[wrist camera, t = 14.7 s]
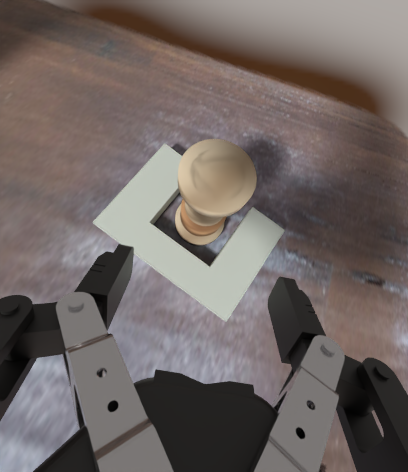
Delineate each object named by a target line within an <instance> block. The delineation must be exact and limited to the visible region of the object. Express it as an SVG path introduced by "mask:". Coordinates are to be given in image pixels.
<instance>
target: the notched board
mask: <svg viewBox="0 0 408 472" xmlns="http://www.w3.org/2000/svg"><path fill="white" fill-rule="evenodd" d="M181 158H182V156H181V155H180V154H179V153H177V152H176V151H175V150H173V149H172V148H170V147H169V146H168V145H166V144H164V145H163V146H162V147H161V148H160V149H159V150H158V151H157V153H156V154H155V155H154V156H153V157H152V158H151V159H150V160H149V161H148V162H147V164H146V165H145V166H144V167H143V168H142V169H141V170H140V171H139V172H138V173H137V174H136V176H135V177H134V178H133V179H132V180H131V181H130V182H129V183H128V184H127V185H126V186H125V188H124V189H123V190H122V191H121V192H120V193H119V194H118V195H117V196H116V197H115V199H114V200H113V201H112V202H111V203H110V204H109V205H108V206H107V207H106V208H105V209H104V211H103V212H102V213H101V214H100V215H99V216H98V217H97V218H96V219H95V220H94V222H93V223H94V224H95V225H96V226H97V227H98V228H100V229H101V230H102V231H104V232H105V233H106V234H108V235H109V236H110V237H112V238H113V239H114V240H116V241H117V242H118V243H120V244H121V245H126V246H131V247H134V254H135V255H136V256H137V257H139V258H140V259H141V260H143V261H144V262H145V263H147V264H148V265H149V266H151V267H152V268H154V269H155V270H156V271H158V272H159V273H160V274H162V275H163V276H164V277H166V278H167V279H168V280H170V281H171V282H172V283H174V284H175V285H176V286H178V287H179V288H180V289H182V290H183V291H185V292H186V293H187V294H189V295H190V296H191V297H193V298H194V299H195V300H197V301H198V302H199V303H201V304H202V305H203V306H205V307H206V308H207V309H209V310H210V311H211V312H213V313H214V314H215V315H217V316H218V317H220V318H221V319H222V320H224V321H226V322H227V320H228V318H229V317H230V315H231V314H232V312H233V311H234V309H235V308H236V306H237V304H238V303H239V301H240V300H241V298H242V297H243V295H244V293H245V292H246V290H247V289H248V287H249V286H250V284H251V282H252V281H253V279H254V278H255V276H256V275H257V273H258V271H259V270H260V268H261V267H262V265H263V264H264V262H265V261H266V259H267V257H268V256H269V254H270V253H271V251H272V250H273V248H274V246H275V245H276V243H277V242H278V240H279V239H280V237H281V235H282V234H283V232H284V231H285V230H284V229H283V228H281V227H280V226H278V225H277V224H276V223H274V222H273V221H271V220H270V219H269V218H267V217H266V216H265V215H263V214H262V213H260V212H259V211H258V210H256V209H255V208H253V207H252V208H251V209H250V210H249V211H248V212H247V214H246V215H245V217H244V218H243V219H242V221H241V222H240V224H239V225H238V226H237V228H236V229H235V231H234V232H233V234H232V235H231V236H230V238H229V239H228V241H227V242H226V243H225V245H224V246H223V248H222V249H221V251H220V252H219V253H218V255H217V256H216V258H215V259H214V260H213V262H212V263H211V265H210V266H208V265H207V264H205V263H204V262H203V261H201V260H200V259H198V258H197V257H196V256H194V255H193V254H192V253H190V252H189V251H188V250H186V249H185V248H183V247H182V246H181V245H179V244H178V243H177V242H175V241H174V240H173V239H171V238H170V237H169V236H167V235H166V234H164V233H163V232H162V231H160V230H159V229H158V228H156V227H155V226H154V225H153V224H154V223H155V222H156V220H157V219H158V218H159V217H160V215H161V214H162V213H163V212H164V211H165V209H166V208H167V207H168V206H169V205H170V203H171V202H172V201H173V200H174V199H175V197H176V196H177V195H178V194H179V192H180V191H179V188H178V168H179V163H180V160H181Z"/></svg>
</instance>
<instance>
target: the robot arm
mask: <svg viewBox="0 0 408 472" xmlns="http://www.w3.org/2000/svg"><path fill="white" fill-rule="evenodd" d="M133 255H134V247H131V246H126V245H121V244H119V245H118V246H117V248H116V250H115V251H114V253H112V252H105V253H103V254H102V255H100V256H99V257H98V258H97V260H96V261H95V262H94V265H92V267H91V268H90V271H88V273H87V274H86V275H85V277H84V278H83V280H82V281H81V283H80V284H79V286H78V287H77V289H76V290H75V291H74V292H73V293H70V294H67V295H65V296H64V297H62V298H61V299H60V300H59V301H58V302H55V303H45V304H32V301H31V299H29V298H28V297H26V296H22V295H12V296H7V297H4V298H1V299H0V421H1V419H2V417H3V416H4V414H5V412H6V410H7V409H8V407H9V405H10V404H11V402H12V400H13V398H14V397H15V395H16V393H17V392H18V390H19V388H20V386H21V385H22V383H23V381H24V380H25V378H26V376H27V374H28V373H29V371H30V369H31V368H32V366H33V364H34V362H35V361H36V359H37V358H39V357H46V356H53V355H60V354H62V356H63V360H64V364H65V369H66V373H67V377H68V381H69V386H70V390H71V395H72V400H73V405H74V410H75V415H76V419H77V423H78V428H79V430H78V431H77V432H76V433H75V434H74V435H73V436H72V437H71V438H70V439H68V440H67V441H66V442H65V443H64V444H63V445H62V446H61V447H60V448H59V449H57V450H56V451H55V452H54V453H53V454H52V455H51V456H50V457H49V458H47V459H46V460H45V461H44V462H43V463H42V464H41V465H40V466H39V467H38V468H36V469H35V470H34V471H33V472H321V470H320V465H321V461H322V458H323V454H324V450H325V447H326V443H327V439H328V436H329V432H330V428H331V425H332V421H333V418H334V414H335V410H337V413H338V416H339V419H340V422H341V425H342V428H343V431H344V434H345V437H346V440H347V443H348V446H349V449H350V452H351V455H352V458H353V461H354V464H355V467H356V470H357V472H408V395H407V393H406V391H405V390H404V388H403V386H402V385H401V383H400V381H399V380H398V378H397V376H396V375H395V373H394V372H393V371H392V370H391V369H390V368H389V367H388V366H387V365H386V364H384V363H383V362H381V361H379V360H377V359H375V358H366V359H365V360H364V361H363V362H362V363H361V362H359V361H356V360H354V359H352V358H350V357H348V356H346V355H344V353H343V351H342V349H341V348H340V346H339V345H338V344H337V343H336V342H335V341H333V340H332V339H330V338H328V337H326V335H325V333H324V330H323V328H322V326H321V324H320V322H319V320H318V317H317V315H316V314H315V311H314V309H313V307H312V304H311V302H310V300H309V298H308V297H307V296H306V294H305V293H304V292H303V291H302V290H299V289H298V286H297V284H296V282H295V280H294V279H289V278H284V277H279V278H278V280H277V282H276V284H275V286H274V288H273V290H272V292H271V294H270V296H269V298H268V309H269V313H270V317H271V321H272V325H273V329H274V333H275V337H276V341H277V345H278V349H279V353H280V357H281V361H282V363H287V364H291V367H292V369H291V370H290V372H289V374H288V376H287V378H286V379H285V381H284V383H283V385H282V387H281V389H280V391H279V393H278V395H277V397H276V399H275V400H274V402H273V404H272V406H271V405H270V404H269V403H268V402H267V401H265V400H264V399H263V398H261V397H259V396H258V395H256V394H254V388H253V385H250V384H244V383H237V382H231V381H228V382H220V383H212V384H203V383H201V382H198V381H196V380H194V379H192V378H189V377H187V376H185V375H183V374H180V373H174V372H168V371H162V370H156V371H155V375H154V377H153V378H147V379H143V380H140V381H138V382H135V383H133V382H132V379H131V377H130V375H129V372H128V370H127V367H126V365H125V363H124V360H123V358H122V355H121V353H120V351H119V348H118V346H117V343H116V341H115V339H114V337H113V335H112V334H108V332H107V330H108V328H109V326H110V324H111V321H112V319H113V317H114V315H115V312H116V310H117V308H118V305H119V303H120V301H121V299H122V296H123V294H124V292H125V290H126V287H127V285H128V283H129V280H130V277H131V273H132V266H133ZM373 410H375V412H376V415H377V417H378V419H379V421H380V423H381V426H382V428H383V432H384V438H383V437H382V435H381V433H380V430H379V428H378V426H377V424H376V421H375V419H374V417H373V415H372V412H371V411H373Z"/></svg>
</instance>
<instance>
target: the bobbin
mask: <svg viewBox="0 0 408 472" xmlns="http://www.w3.org/2000/svg"><path fill="white" fill-rule="evenodd" d="M256 181H257V175H256V170H255V167H254V164H253V162H252V160H251V159H250V157H249V156H248V154H247V153H246V152H245V151H244V150H243V149H241V148H240V147H239V146H237V145H235V144H233V143H231V142H229V141H225V140H221V139H208V140H203V141H200V142H198V143H196V144H194V145H193V146H191V147H190V148H189V149H188V150H187V151H186V152H185V153H184V155H183V156H182V158H181V160H180V163H179V168H178V188H179V191H180V194H181V196H182V198H183V199H182V203H181V204H180V206H179V207H178V209H177V212H176V216H175V226H176V230H177V232H178V234H179V235H180V237H181V238H182V239H183V240H184V241H186V242H187V243H190V244H192V245H197V246H202V245H207V244H209V243H211V242H213V241H214V240H215V239H216V238H217V237H218V236H219V235H220V234H221V232H222V230H223V227H224V222H225V219H226V218H227V216H229V215H232V214H234V213H236V212H237V211H239V210H240V209H241V208H242V207H243V206H244V205H245V204H246V203H247V201H248V200H249V199H250V198H251V196H252V194H253V193H254V190H255V187H256Z"/></svg>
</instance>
